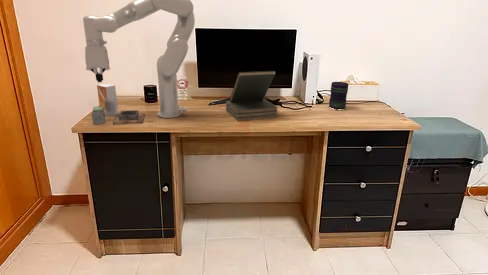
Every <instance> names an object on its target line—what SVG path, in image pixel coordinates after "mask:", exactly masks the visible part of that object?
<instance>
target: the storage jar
mask: <svg viewBox="0 0 488 275" xmlns="http://www.w3.org/2000/svg"><path fill="white" fill-rule="evenodd" d="M348 91H349V83H348V82H345V81H344V82H343V81H332V82H331V85H330V96H329V97H330V98H329V101H328V108H329V107H331V108H334V109H344V108H345V109H346V107H347V106H346V105H347V96H348V93H349V92H348Z"/></svg>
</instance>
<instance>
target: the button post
mask: <svg viewBox="0 0 488 275" xmlns="http://www.w3.org/2000/svg"><path fill="white" fill-rule="evenodd" d="M91 118H92V124H93V125H104V124H105V123H106V121H107V119H106V110H105V109H104V108H103V109H102V110H101V112H95V111H94V110H93V109H92V111H91Z"/></svg>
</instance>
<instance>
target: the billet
mask: <svg viewBox="0 0 488 275" xmlns="http://www.w3.org/2000/svg"><path fill="white" fill-rule="evenodd" d="M117 106H118V101H117V102H116V99H106V100H105V109H104V110H105V117H116V115H117V114H119V113H118V107H117Z"/></svg>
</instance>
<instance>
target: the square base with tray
mask: <svg viewBox="0 0 488 275" xmlns="http://www.w3.org/2000/svg"><path fill="white" fill-rule="evenodd" d="M139 112H140V111H139V110H134V109H133V110H121V111H120V113H118V114H117V115H116V116H114V117H115V118H114V120H113V122H112V124H113V125H127V124H128V125H129V124H130V125H133V124H134V125H135V124H138V125H139V124H143V123H144V119H145V116H146V114H145V112H141V113H139Z"/></svg>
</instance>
